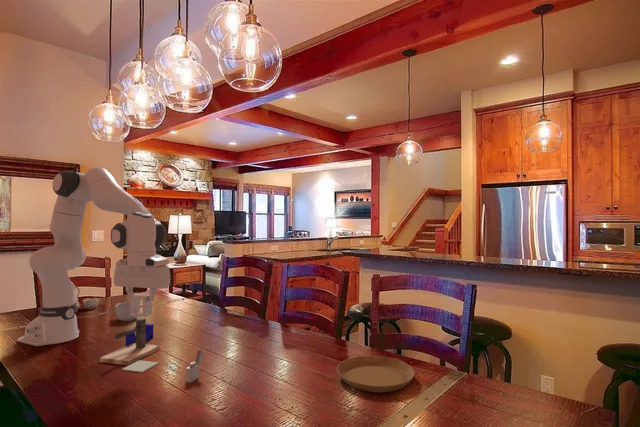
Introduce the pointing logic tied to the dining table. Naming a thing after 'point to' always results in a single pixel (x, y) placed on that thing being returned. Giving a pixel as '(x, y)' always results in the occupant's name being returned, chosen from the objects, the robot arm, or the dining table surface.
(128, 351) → the hook rack
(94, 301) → the chinaware
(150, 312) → the pinkish grey hollow block
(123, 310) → the teacup
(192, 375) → the lighter
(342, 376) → the plant saucer
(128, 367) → the felt pad
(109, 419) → the dining table surface
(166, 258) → the robot arm
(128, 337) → the blue notched block
